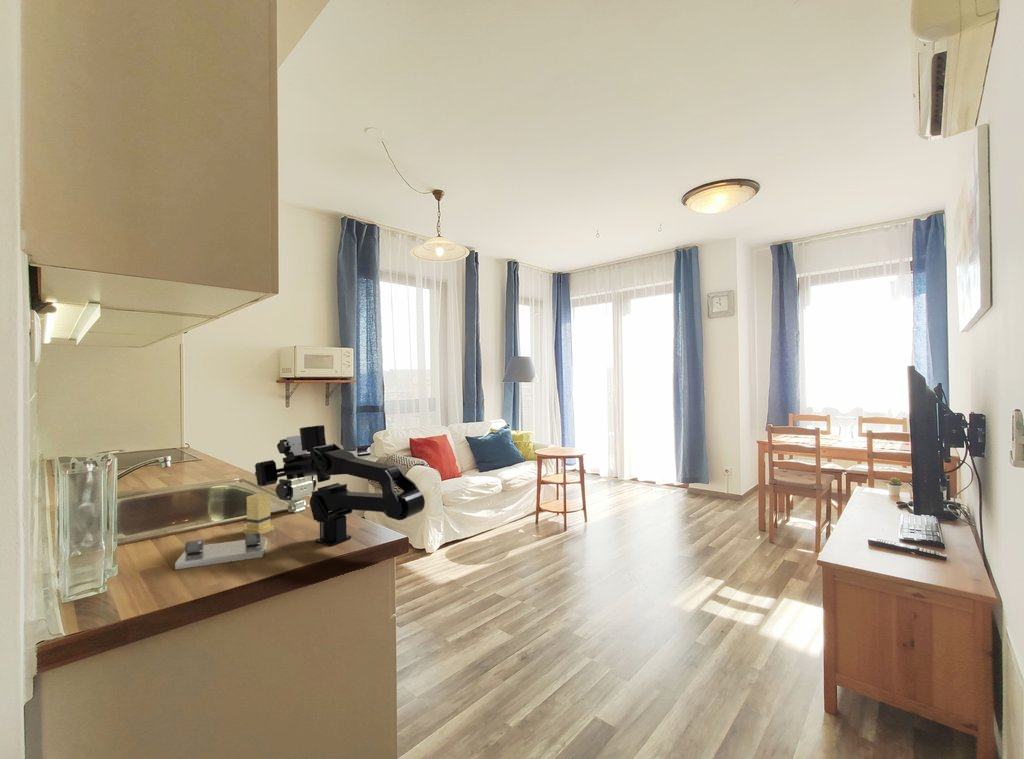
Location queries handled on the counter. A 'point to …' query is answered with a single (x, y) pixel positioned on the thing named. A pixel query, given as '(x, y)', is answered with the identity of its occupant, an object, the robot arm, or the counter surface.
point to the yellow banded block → (258, 514)
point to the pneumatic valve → (295, 491)
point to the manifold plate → (221, 551)
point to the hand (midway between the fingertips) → (271, 470)
